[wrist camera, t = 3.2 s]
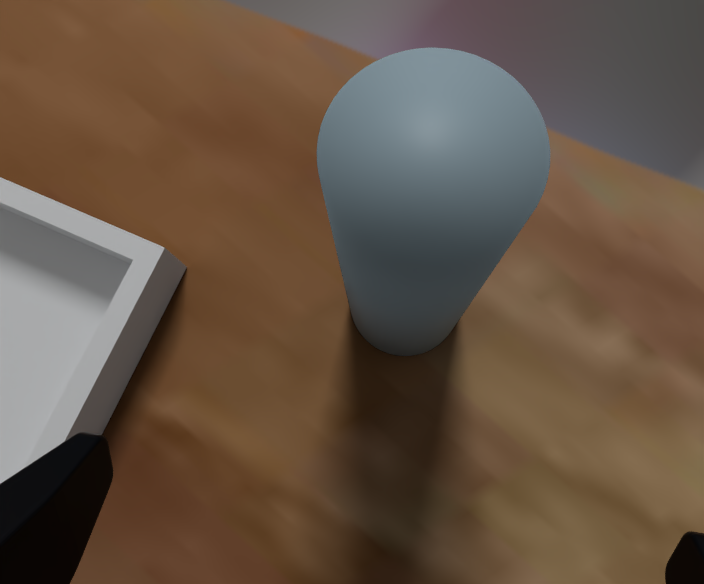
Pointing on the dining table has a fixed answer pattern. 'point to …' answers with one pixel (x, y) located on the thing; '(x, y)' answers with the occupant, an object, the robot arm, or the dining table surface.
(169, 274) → the tray
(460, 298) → the dowel
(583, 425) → the dining table surface
